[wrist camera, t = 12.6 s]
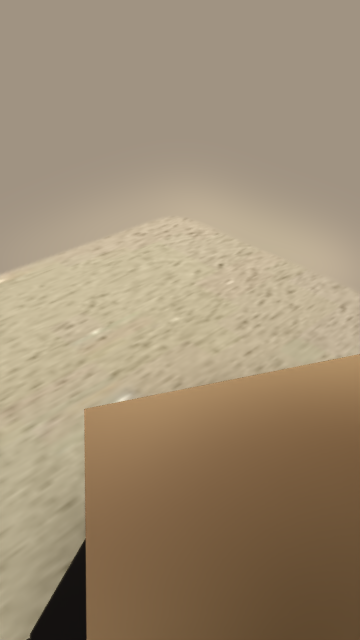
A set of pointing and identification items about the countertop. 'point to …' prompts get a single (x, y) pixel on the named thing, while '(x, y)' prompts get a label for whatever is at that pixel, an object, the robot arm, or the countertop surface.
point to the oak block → (227, 510)
